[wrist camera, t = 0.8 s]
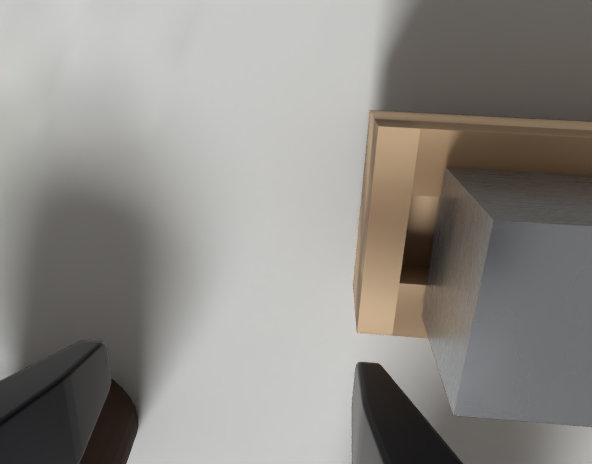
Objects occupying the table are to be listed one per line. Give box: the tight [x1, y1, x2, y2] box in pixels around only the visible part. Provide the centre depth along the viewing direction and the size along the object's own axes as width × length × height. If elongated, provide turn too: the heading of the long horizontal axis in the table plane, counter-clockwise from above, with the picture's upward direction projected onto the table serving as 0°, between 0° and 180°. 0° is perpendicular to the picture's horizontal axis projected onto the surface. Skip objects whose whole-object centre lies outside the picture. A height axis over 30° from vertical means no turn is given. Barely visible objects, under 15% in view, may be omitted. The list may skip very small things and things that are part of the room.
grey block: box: [422, 167, 592, 427], centre depth 13 cm, size 5×5×6 cm
